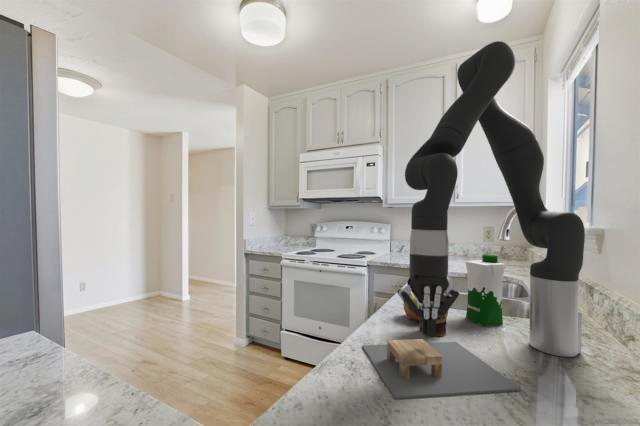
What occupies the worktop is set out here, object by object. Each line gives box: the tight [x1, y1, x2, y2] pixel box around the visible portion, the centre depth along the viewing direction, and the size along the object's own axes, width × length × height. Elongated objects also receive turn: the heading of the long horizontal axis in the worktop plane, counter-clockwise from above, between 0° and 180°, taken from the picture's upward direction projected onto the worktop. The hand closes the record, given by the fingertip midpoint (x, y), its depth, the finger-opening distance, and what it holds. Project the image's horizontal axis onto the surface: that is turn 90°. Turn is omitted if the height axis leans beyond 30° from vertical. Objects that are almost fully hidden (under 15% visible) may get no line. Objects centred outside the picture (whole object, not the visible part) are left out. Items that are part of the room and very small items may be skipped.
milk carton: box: [464, 254, 506, 327], centre depth 90 cm, size 9×9×20 cm
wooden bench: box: [387, 338, 442, 379], centre depth 60 cm, size 4×8×8 cm
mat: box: [362, 341, 522, 400], centre depth 62 cm, size 24×20×1 cm
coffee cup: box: [433, 294, 449, 337], centre depth 80 cm, size 9×8×13 cm
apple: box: [403, 293, 420, 323], centre depth 90 cm, size 10×10×8 cm
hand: (427, 335), depth 61 cm, fingers closed
